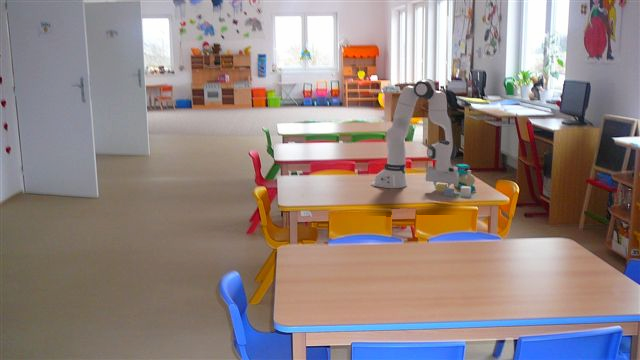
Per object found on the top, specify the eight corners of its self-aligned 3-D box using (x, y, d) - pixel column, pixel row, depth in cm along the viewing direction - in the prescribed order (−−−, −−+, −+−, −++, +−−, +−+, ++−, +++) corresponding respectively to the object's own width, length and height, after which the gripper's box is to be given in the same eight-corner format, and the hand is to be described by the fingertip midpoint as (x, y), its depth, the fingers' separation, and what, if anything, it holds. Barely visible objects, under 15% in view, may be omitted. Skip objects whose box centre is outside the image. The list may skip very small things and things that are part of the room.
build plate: (451, 198, 388) (451, 196, 388) (456, 194, 399) (457, 192, 399) (474, 200, 383) (474, 198, 382) (478, 196, 394) (478, 194, 394)
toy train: (465, 193, 401) (466, 169, 398) (453, 187, 417) (454, 164, 414) (477, 193, 403) (478, 168, 400) (464, 187, 419) (465, 164, 416)
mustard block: (436, 192, 402) (436, 184, 401) (438, 191, 407) (439, 183, 406) (444, 193, 400) (445, 185, 399) (446, 191, 405) (447, 183, 404)
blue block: (443, 197, 390) (443, 189, 389) (445, 196, 394) (445, 187, 393) (451, 198, 388) (452, 190, 387) (453, 196, 392) (454, 188, 391)
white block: (460, 195, 389) (460, 187, 388) (462, 194, 394) (462, 185, 393) (468, 196, 387) (469, 188, 386) (470, 195, 392) (471, 186, 391)
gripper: (424, 166, 402) (423, 189, 405) (458, 169, 394) (457, 192, 396) (427, 165, 407) (426, 187, 410) (460, 167, 399) (459, 190, 402)
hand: (441, 189), depth 403 cm, fingers closed on mustard block, 5 cm apart
